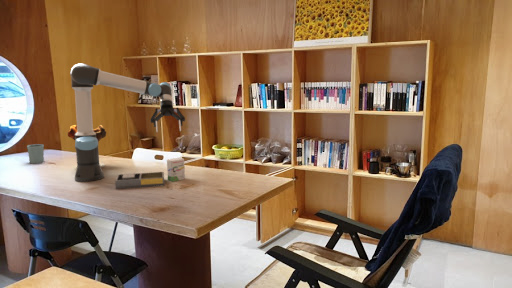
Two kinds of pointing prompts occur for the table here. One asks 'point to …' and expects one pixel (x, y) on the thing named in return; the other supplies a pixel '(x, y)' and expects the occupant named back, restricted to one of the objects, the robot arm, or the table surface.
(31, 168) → the table surface
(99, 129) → the decorative vase
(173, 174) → the ink box
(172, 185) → the table surface
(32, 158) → the grey green cup
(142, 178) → the grey compartment tray
